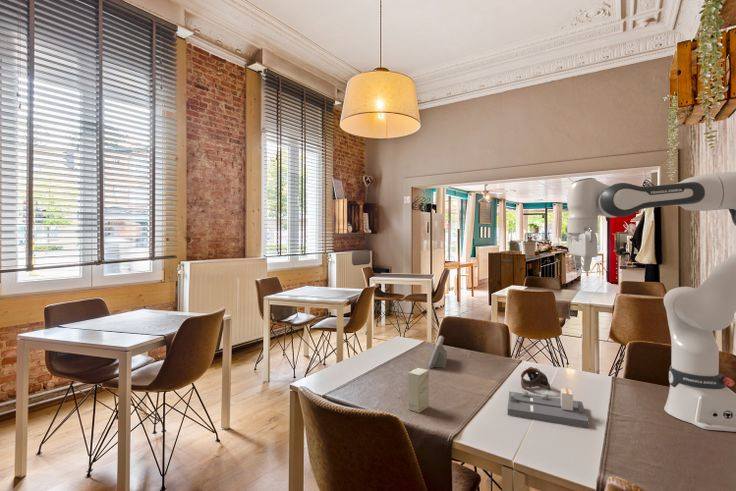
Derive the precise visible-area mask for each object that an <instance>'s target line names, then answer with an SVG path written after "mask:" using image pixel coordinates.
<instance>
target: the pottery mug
mask: <svg viewBox="0 0 736 491" xmlns="http://www.w3.org/2000/svg"><path fill="white" fill-rule="evenodd" d="M520 374H521V375H520V377H521V378H520V385H521V388H522V389H524V388H529V389H530V388H531V389H532V388H536V387H540V388H542V386H544V387H545V386H546V387H547V388H548V390H549V391H551V386H550V385H551V384H550V383H549V379H548V377H547V375H546V374H545V373H544V372H542V371H540V369H539V368H536V367H532V366H530V367H528V368H526V369H524V370H523V371H522V372H521V373H520ZM525 375H527V377H528V379H529V380H528V379H525V378H524V377H525Z"/></svg>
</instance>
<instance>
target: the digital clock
mask: <svg viewBox="0 0 736 491" xmlns="http://www.w3.org/2000/svg"><path fill="white" fill-rule="evenodd" d="M444 340H445V337H444V336H443V335H439V336H438V338H437V340H436V342H435V345H434V348H433V351H432V353H431V355H430V359H429V361H428V364H427V366H428V368H429V369H433V368H434V366H438V367H437V368H446V365H447V358H448V352H447V350H446V349H444V347H443V343H444Z"/></svg>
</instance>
